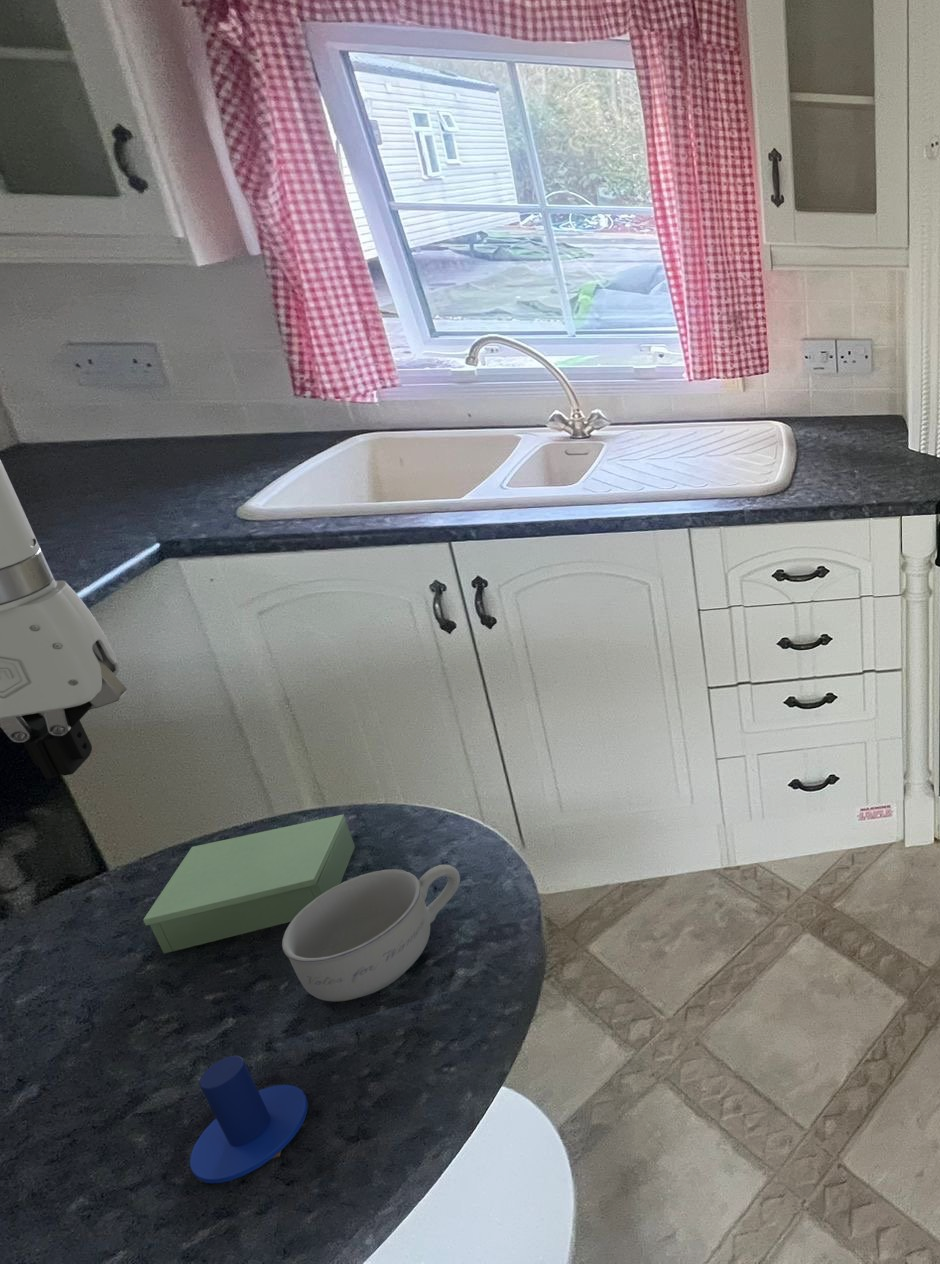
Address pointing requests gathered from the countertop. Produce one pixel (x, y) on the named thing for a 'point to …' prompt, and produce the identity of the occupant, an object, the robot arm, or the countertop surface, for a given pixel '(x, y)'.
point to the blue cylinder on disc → (243, 1122)
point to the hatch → (247, 869)
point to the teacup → (364, 932)
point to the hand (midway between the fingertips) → (69, 766)
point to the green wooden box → (254, 907)
